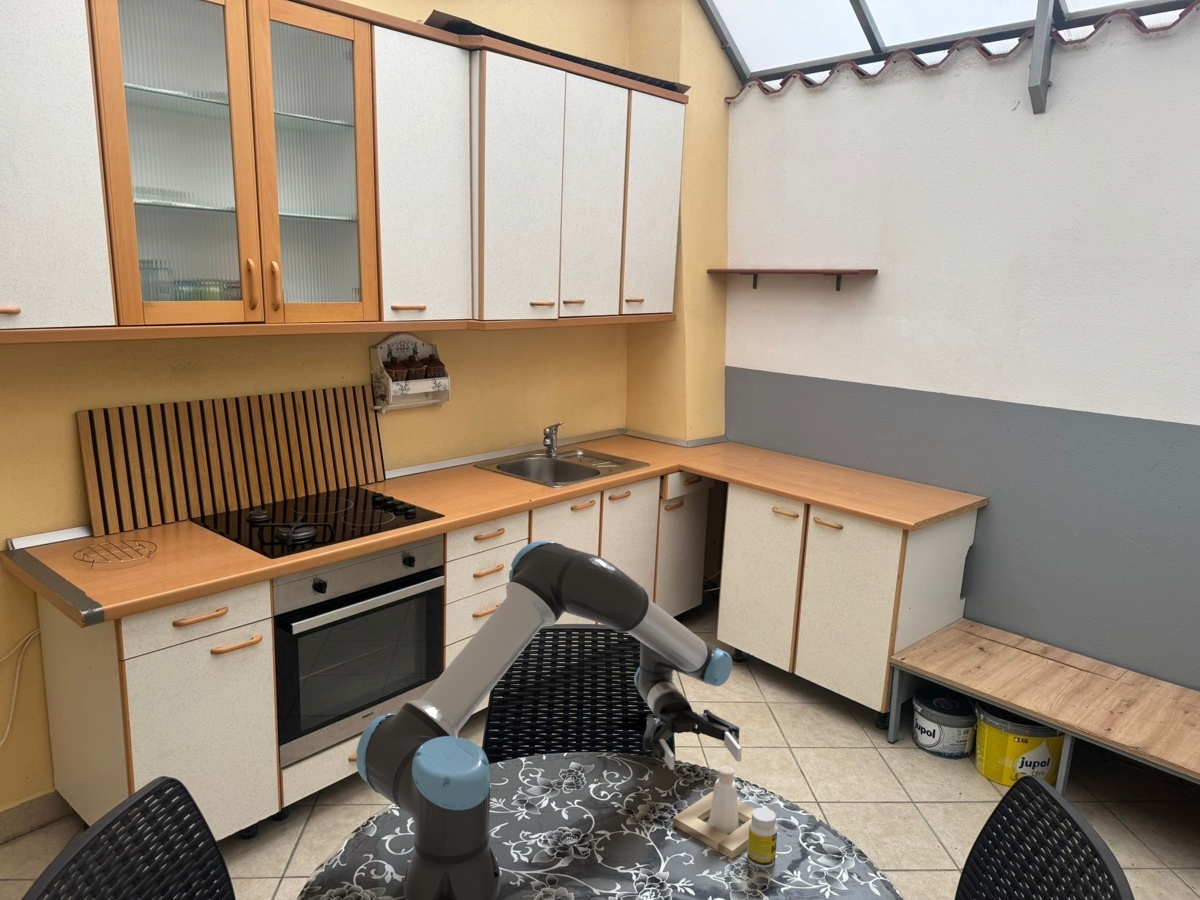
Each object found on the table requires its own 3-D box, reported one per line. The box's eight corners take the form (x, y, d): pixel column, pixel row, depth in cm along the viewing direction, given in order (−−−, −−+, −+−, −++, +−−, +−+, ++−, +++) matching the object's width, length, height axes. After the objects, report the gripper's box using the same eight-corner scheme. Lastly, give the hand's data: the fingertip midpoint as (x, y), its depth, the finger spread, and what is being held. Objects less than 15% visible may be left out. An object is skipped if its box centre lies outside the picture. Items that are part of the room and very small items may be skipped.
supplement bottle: (775, 870, 138) (778, 824, 136) (746, 866, 139) (749, 820, 137) (775, 852, 142) (778, 808, 141) (747, 848, 143) (750, 804, 142)
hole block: (672, 824, 149) (673, 817, 149) (716, 796, 159) (716, 788, 158) (732, 858, 141) (732, 850, 140) (774, 826, 150) (774, 818, 149)
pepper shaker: (739, 836, 147) (742, 779, 145) (708, 833, 147) (710, 776, 145) (738, 818, 152) (741, 762, 150) (708, 815, 153) (711, 760, 151)
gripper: (723, 717, 181) (765, 769, 161) (613, 729, 175) (643, 785, 155) (724, 685, 180) (767, 733, 160) (614, 696, 174) (644, 748, 154)
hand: (706, 759), depth 157 cm, fingers open, 13 cm apart
